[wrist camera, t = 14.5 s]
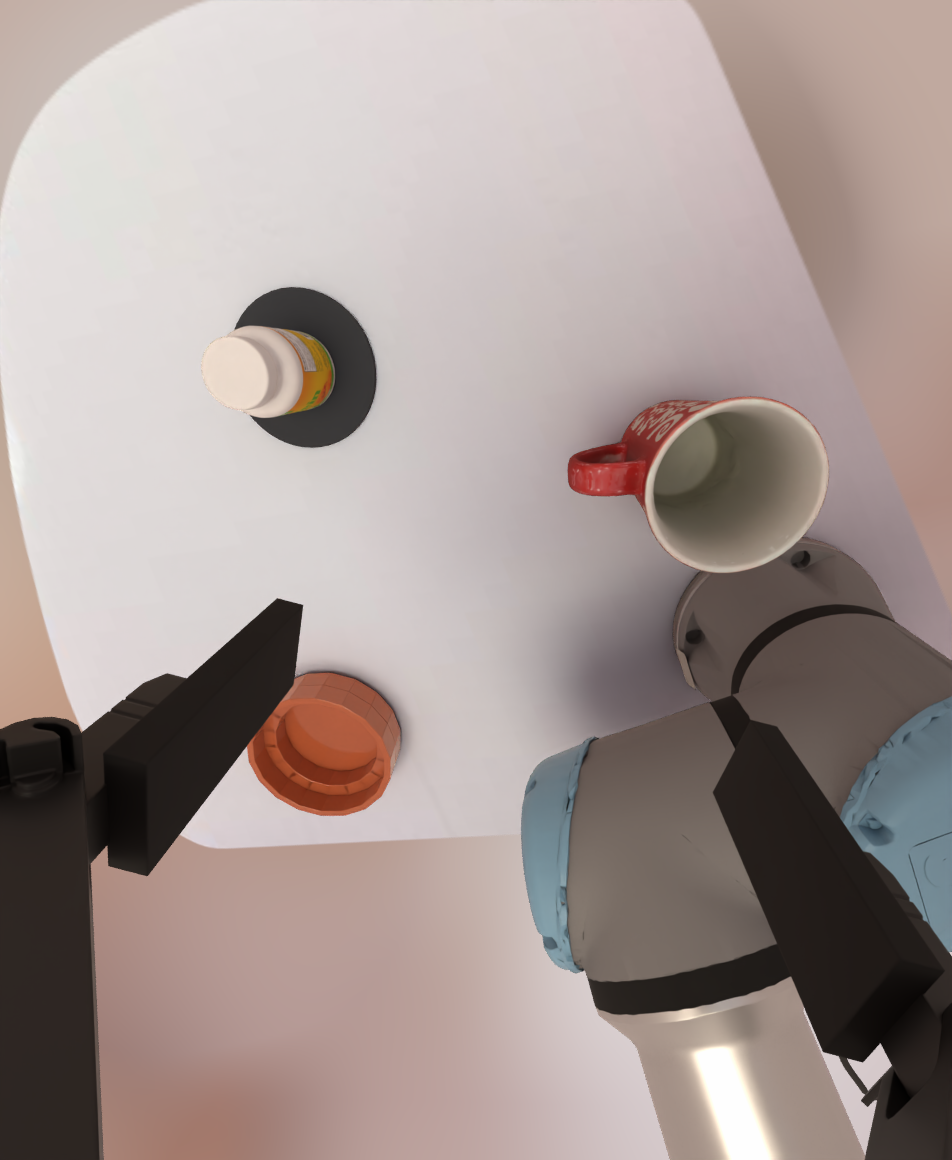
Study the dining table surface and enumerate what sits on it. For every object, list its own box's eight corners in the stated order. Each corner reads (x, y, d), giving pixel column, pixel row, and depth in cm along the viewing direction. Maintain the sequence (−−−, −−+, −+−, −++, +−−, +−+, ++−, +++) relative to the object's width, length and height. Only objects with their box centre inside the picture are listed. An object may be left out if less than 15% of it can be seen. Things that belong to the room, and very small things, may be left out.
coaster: (406, 370, 39) (405, 370, 39) (316, 475, 43) (315, 476, 42) (288, 250, 37) (286, 249, 36) (204, 372, 40) (201, 373, 40)
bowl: (429, 732, 51) (421, 765, 47) (344, 802, 56) (329, 837, 52) (324, 644, 49) (304, 670, 44) (243, 724, 53) (219, 755, 49)
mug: (747, 388, 37) (856, 401, 25) (719, 513, 41) (802, 580, 28) (566, 379, 38) (584, 388, 26) (554, 503, 42) (564, 563, 29)
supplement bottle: (293, 422, 41) (227, 439, 32) (251, 355, 39) (169, 353, 30) (350, 387, 39) (298, 395, 30) (310, 316, 38) (242, 302, 29)
